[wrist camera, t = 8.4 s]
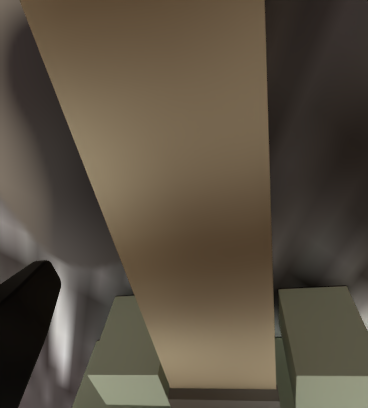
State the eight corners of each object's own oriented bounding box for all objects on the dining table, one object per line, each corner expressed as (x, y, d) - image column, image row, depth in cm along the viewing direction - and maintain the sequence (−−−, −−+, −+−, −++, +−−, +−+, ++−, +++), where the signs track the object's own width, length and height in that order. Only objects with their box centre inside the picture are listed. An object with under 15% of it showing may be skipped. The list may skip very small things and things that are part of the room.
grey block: (382, 358, 16) (458, 517, 11) (106, 359, 19) (66, 487, 14) (405, 283, 13) (522, 456, 8) (73, 298, 16) (5, 433, 11)
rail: (263, 323, 16) (280, 448, 11) (195, 325, 16) (186, 444, 12) (229, -223, 6) (257, -809, 2) (71, -168, 7) (-205, -498, 2)
